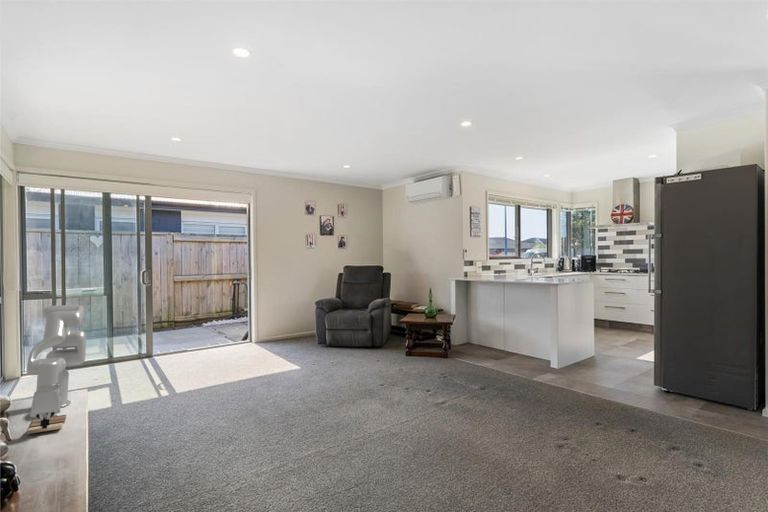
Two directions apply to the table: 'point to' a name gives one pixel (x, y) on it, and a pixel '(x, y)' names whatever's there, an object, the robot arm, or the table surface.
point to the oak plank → (50, 427)
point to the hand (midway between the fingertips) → (44, 427)
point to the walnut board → (52, 421)
